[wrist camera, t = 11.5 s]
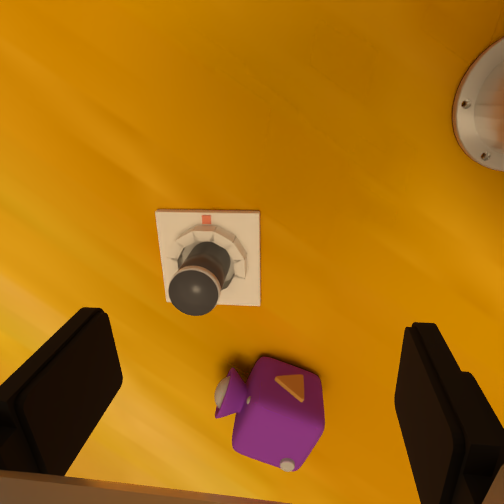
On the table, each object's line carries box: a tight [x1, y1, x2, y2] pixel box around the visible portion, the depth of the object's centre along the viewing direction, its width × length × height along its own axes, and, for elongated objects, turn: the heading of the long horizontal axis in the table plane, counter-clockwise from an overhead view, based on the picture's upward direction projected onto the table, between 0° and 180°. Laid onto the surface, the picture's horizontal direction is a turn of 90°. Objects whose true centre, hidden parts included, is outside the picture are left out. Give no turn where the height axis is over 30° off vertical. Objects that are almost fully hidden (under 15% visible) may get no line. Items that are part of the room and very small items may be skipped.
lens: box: [168, 241, 231, 316], centre depth 40 cm, size 5×5×8 cm
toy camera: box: [215, 357, 325, 471], centre depth 47 cm, size 11×14×10 cm
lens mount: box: [155, 209, 261, 306], centre depth 43 cm, size 12×12×3 cm
